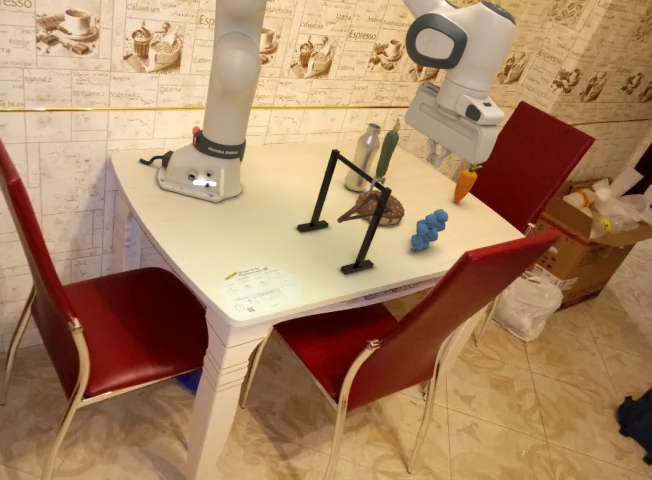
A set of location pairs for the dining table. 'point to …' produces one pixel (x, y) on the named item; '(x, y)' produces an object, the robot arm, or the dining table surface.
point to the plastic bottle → (364, 157)
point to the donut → (386, 218)
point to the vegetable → (388, 150)
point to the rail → (386, 191)
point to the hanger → (373, 195)
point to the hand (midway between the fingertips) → (432, 163)
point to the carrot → (465, 182)
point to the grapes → (429, 229)
